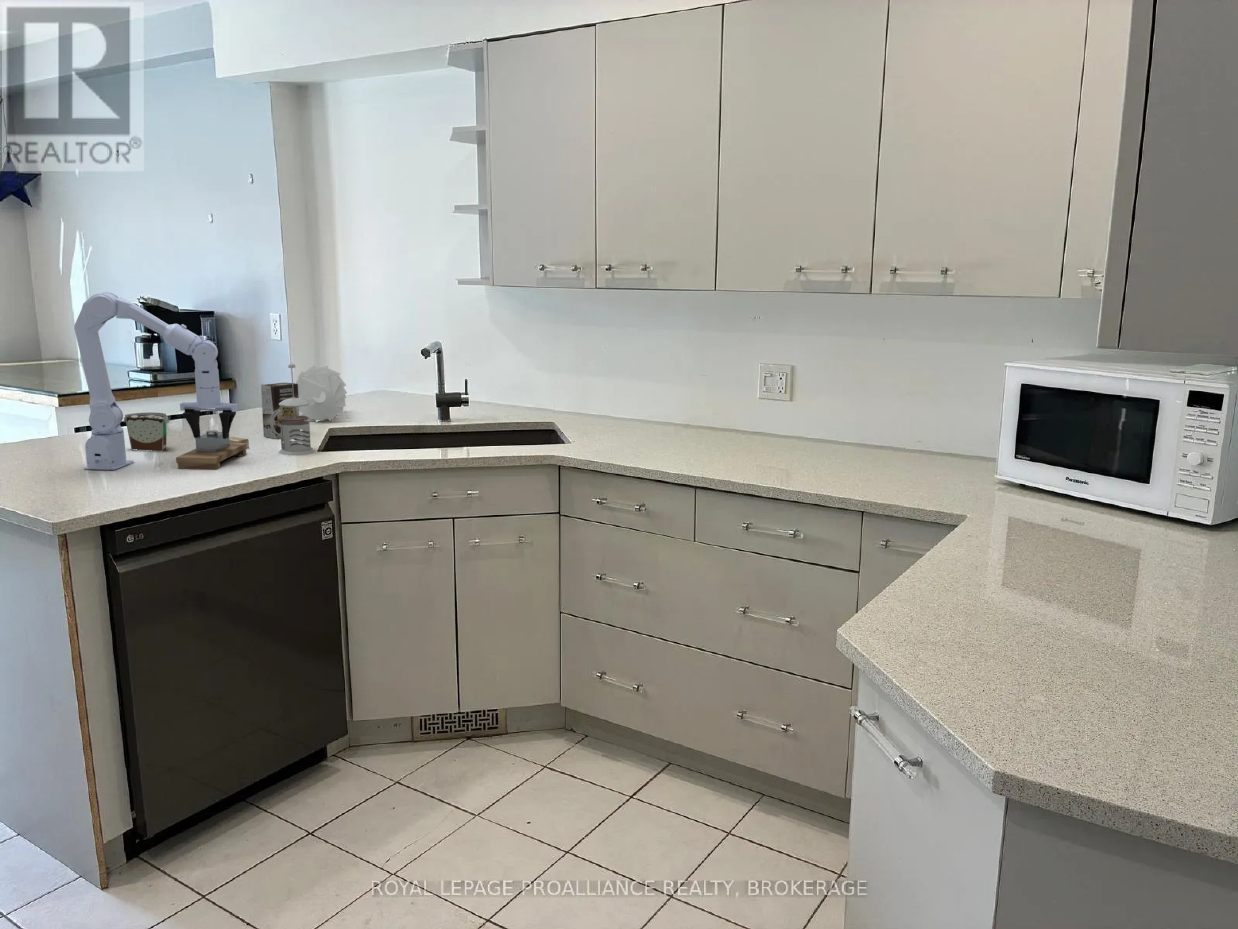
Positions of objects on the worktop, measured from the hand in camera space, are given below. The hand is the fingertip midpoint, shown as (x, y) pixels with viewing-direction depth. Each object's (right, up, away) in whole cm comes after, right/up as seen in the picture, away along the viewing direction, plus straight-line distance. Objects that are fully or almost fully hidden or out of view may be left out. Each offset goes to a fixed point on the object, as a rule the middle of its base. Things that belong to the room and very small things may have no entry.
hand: (211, 437), depth 240 cm
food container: (-23, -3, +15) cm, 28 cm away
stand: (0, -6, +1) cm, 6 cm away
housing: (0, -3, +1) cm, 3 cm away
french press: (+16, -4, +15) cm, 23 cm away
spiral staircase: (+6, +9, +71) cm, 72 cm away
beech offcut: (-1, -3, +18) cm, 18 cm away
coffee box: (+5, +1, +38) cm, 38 cm away
